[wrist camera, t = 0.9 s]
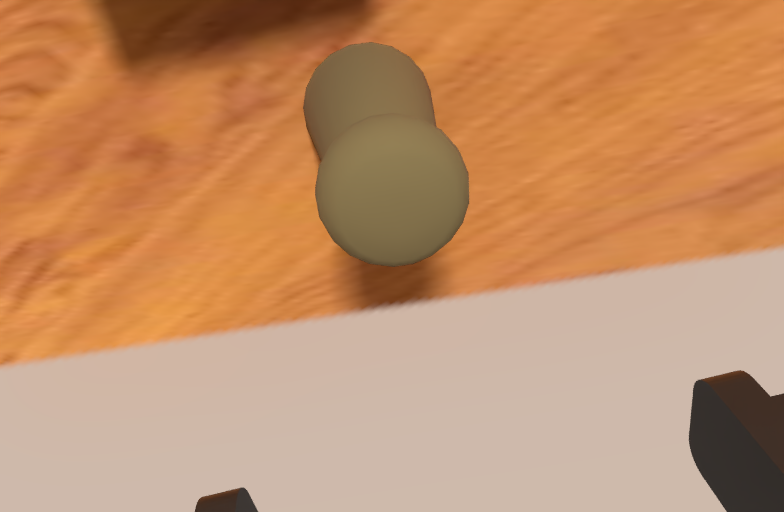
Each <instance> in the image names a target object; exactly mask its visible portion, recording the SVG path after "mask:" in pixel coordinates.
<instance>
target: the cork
mask: <svg viewBox="0 0 784 512" xmlns="http://www.w3.org/2000/svg"><path fill="white" fill-rule="evenodd" d="M303 109H304V115H305V121H306V126H307V129H308V132H309V134H310V136H311V139H312V141H313V143H314V146H315V148H316V150H317V152H318V155H319V157H320V159H321V163H320V165H319V169H318V175H317V181H316V187H315V196H316V201H317V207H318V212H319V217H320V219H321V221H322V222H323V224H324V226H325V228H326V229H327V231H328V233H329V234H330V236H331V238H332V239H333V241H334V242H335V243H336V244H338V245H339V246H340V247H341V248H342V249H343V250H344V251H346V252H347V253H348V254H349V255H350V256H353V257H355V258H357V259H360V260H362V261H364V262H367V263H369V264H375V265H384V266H392V267H395V266H402V265H408V264H414V263H416V262H418V261H421V260H423V259H425V258H428V257H430V256H432V255H433V254H434V253H436V252H437V251H438V250H439V249H441V248H442V247H443V246H444V245H446V244H447V243H448V242H449V241H450V240H451V239H452V238H453V236H454V235H455V233H456V232H457V230H458V229H459V227H460V226H461V225H462V223H463V220H464V217H465V214H466V211H467V207H468V204H469V177H468V171H467V169H466V166H465V164H464V161H463V159H462V156H461V154H460V152H459V150H458V149H457V147H456V146H455V145H454V144H453V143H452V141H451V140H450V139H449V138H448V137H447V136H446V135H445V134H444V132H443V131H442V130H441V129H439V128H437V127H436V122H435V116H434V110H433V104H432V98H431V92H430V89H429V86H428V84H427V81H426V79H425V76H424V74H423V72H422V71H421V70H420V68H419V67H418V66H417V65H416V64H415V63H414V61H413V60H412V59H411V58H410V57H409V56H407V55H405V54H404V53H402V52H400V51H399V50H397V49H395V48H393V47H392V46H387V45H382V44H377V43H372V42H369V43H361V44H354V45H349V46H347V47H345V48H343V49H341V50H339V51H337V52H334V53H332V54H331V55H330V56H329V57H328V58H326V59H325V60H324V61H323V62H322V63H321V64H320V65H319V66H318V67H317V68H316V69H315V71H314V73H313V75H312V77H311V79H310V81H309V83H308V85H307V87H306V93H305V99H304V106H303Z"/></svg>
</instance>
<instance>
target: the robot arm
mask: <svg viewBox="0 0 784 512" xmlns="http://www.w3.org/2000/svg"><path fill="white" fill-rule="evenodd" d="M689 444H690V449H691V453H692V456H693V459H694V461H695V463H696V466H697V468H698V469H699V471H700V473H701V475H702V476H703V478H704V479H705V480H706V482H707V483H708V485H709V486H710V488H711V489H712V491H713V492H714V494H715V495H716V496H717V498H718V499H719V501H720V502H721V504H722V505H723V507H724V508H725V510H726V511H727V512H784V394H780V395H776V396H771V397H770V396H769V395H768V393H767V392H766V391H765V390H764V389H763V388H762V387H761V386H760V385H759V384H758V383H757V382H756V381H755V379H754V378H753V377H751V376H750V375H749V374H748V373H746V372H744V371H741V370H740V371H735V372H730V373H726V374H723V375H718V376H714V377H709V378H705V379H701V380H698V381H696V383H695V385H694V388H693V399H692V410H691V421H690V431H689ZM195 512H258V511H257V509H256V507H255V505H254V503H253V501H252V499H251V497H250V495H249V493H248V491H247V490H246V489H245V488H238V489H234V490H230V491H226V492H222V493H217V494H213V495H209V496H205V497H201V498H200V499H199V500H198V502H197V505H196V509H195Z"/></svg>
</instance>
